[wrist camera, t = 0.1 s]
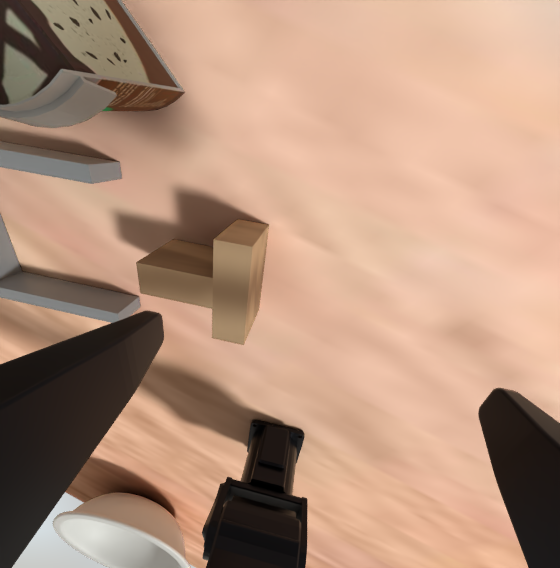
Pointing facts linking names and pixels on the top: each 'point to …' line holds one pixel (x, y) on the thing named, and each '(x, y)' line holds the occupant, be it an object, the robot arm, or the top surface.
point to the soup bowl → (124, 532)
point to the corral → (44, 290)
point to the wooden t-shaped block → (213, 276)
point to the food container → (77, 62)
